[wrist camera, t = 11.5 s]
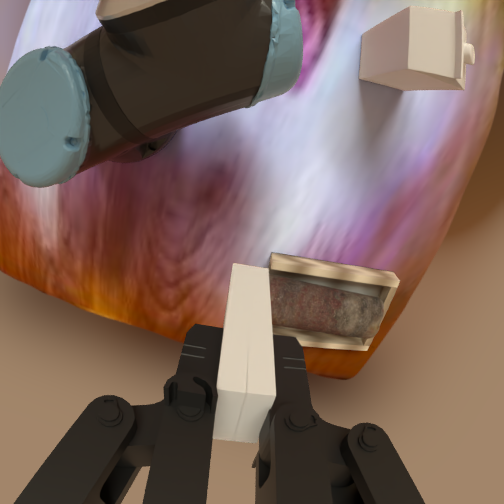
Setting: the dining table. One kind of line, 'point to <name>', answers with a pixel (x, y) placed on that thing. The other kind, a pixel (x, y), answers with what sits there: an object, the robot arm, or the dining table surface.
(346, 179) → the dining table surface
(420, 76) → the milk carton
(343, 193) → the dining table surface
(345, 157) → the dining table surface
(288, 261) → the tray
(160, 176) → the dining table surface
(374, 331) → the candle
